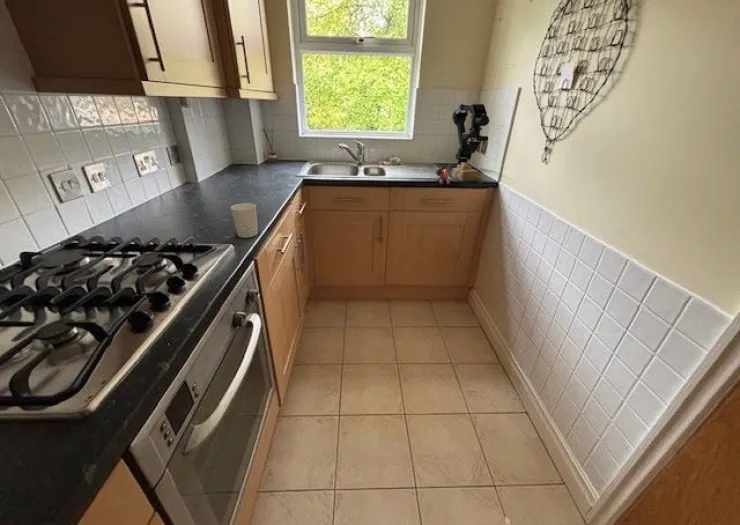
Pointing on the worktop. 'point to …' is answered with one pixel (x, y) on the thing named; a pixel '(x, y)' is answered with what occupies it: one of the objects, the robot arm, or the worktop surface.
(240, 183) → the worktop surface
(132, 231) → the worktop surface
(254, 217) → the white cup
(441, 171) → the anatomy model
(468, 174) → the tan stepped block
